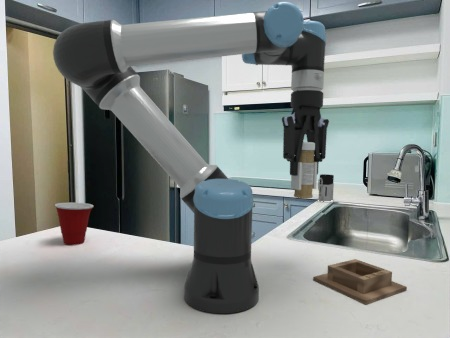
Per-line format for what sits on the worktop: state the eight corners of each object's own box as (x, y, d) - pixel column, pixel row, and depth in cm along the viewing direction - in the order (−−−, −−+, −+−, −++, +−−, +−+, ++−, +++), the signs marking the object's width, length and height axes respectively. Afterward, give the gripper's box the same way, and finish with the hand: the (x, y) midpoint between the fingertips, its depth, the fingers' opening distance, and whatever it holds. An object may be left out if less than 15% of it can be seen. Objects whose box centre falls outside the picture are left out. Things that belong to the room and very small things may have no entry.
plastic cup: (97, 244, 105) (97, 205, 104) (58, 249, 99) (58, 208, 98) (89, 236, 114) (88, 199, 113) (52, 240, 108) (52, 202, 107)
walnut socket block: (365, 304, 68) (366, 284, 68) (313, 280, 80) (313, 263, 80) (406, 290, 76) (407, 272, 75) (353, 269, 88) (353, 254, 87)
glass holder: (336, 201, 196) (337, 175, 194) (325, 204, 185) (326, 176, 184) (321, 199, 201) (322, 174, 200) (310, 202, 191) (311, 175, 190)
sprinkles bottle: (291, 196, 86) (293, 141, 85) (309, 196, 87) (311, 142, 86) (297, 198, 82) (299, 141, 81) (315, 199, 82) (318, 142, 81)
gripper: (290, 85, 75) (287, 192, 76) (344, 92, 84) (340, 188, 86) (268, 89, 81) (265, 188, 83) (320, 96, 90) (317, 185, 92)
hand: (303, 188), depth 84 cm, fingers closed on sprinkles bottle, 4 cm apart
